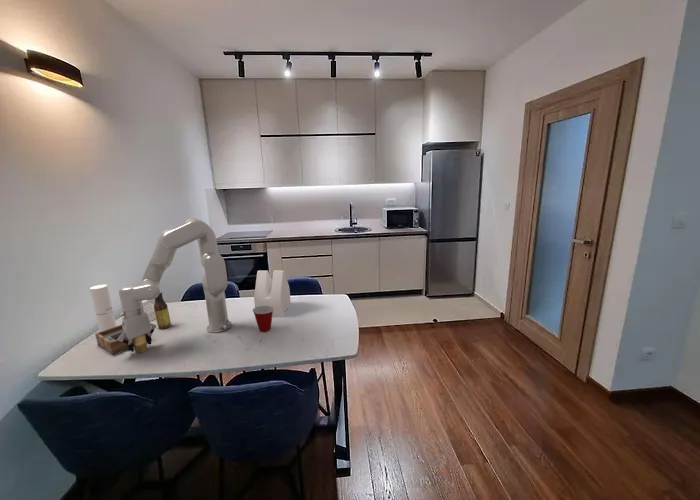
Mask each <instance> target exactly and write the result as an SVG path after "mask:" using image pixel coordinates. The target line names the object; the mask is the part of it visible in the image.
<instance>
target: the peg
mask: <svg viewBox="0 0 700 500" xmlns="http://www.w3.org/2000/svg"><path fill="white" fill-rule="evenodd" d="M132 340H133V345H134V353H136V354H141V352H142V353H144V352H146V351H147V350H148V349H149V347H148V343H147V341H146V337H145V334H143V335H141V336H138V337H136V338H133V339H132Z"/></svg>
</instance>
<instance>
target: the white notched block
mask: <svg viewBox="0 0 700 500" xmlns="http://www.w3.org/2000/svg"><path fill="white" fill-rule="evenodd" d="M254 287H255V289H254V296H253V297H254V298H253V300H254V301H253V302H254V308H255V307H258V306H272V307H274V310H273V313H272V318H283V317H284V315H285V313H286V312H287V310H288V309H289V307H290V306H291V304H292V303H291V302H292V301H291V292H290V291H291V290H290V285H289V282H288V279H287V275H286V273H285V270H279V269H277V270H272V276H271V275H270V272H269V270H257V273H256V280H255V286H254ZM289 305H290V306H289ZM287 308H288V309H287ZM285 311H286V312H285ZM283 314H284V315H283Z"/></svg>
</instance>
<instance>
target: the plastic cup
mask: <svg viewBox="0 0 700 500" xmlns="http://www.w3.org/2000/svg"><path fill="white" fill-rule="evenodd" d="M273 310H274V307H272V306H258V307H255V306H254V308H252V312H253V315H254V317H255V321H256V324H257V327H258V328H257V329H258V330H259V332H260V333H267V331H268V332H269V330H270V329H272V319H273V317H272V313H273ZM270 331H271V330H270Z"/></svg>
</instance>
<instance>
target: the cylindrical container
mask: <svg viewBox="0 0 700 500" xmlns="http://www.w3.org/2000/svg"><path fill="white" fill-rule="evenodd" d="M89 292H90V295H91V300H92V304H93V309H94V313H95V316H96V321H97V325H98V330H99V332H102V331H104V330H107V329H110V328H113V327H116V326H117V323H116V318H115V314H114V310H113V306H112V305H113V304H112V301H111V295H110V292H109V287H108V284H98V285H97V284H96V285H93V286H91V287H89Z"/></svg>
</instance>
